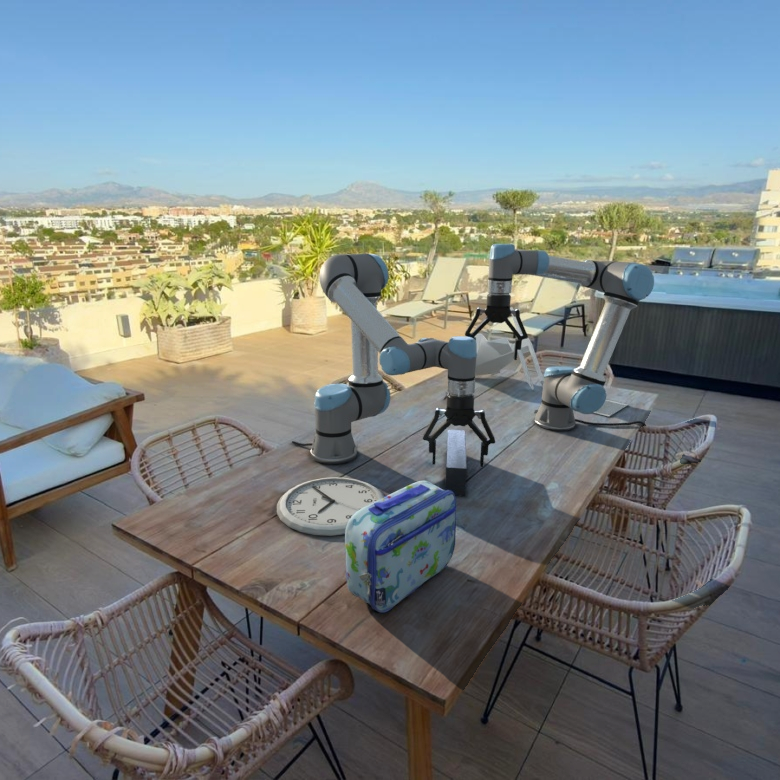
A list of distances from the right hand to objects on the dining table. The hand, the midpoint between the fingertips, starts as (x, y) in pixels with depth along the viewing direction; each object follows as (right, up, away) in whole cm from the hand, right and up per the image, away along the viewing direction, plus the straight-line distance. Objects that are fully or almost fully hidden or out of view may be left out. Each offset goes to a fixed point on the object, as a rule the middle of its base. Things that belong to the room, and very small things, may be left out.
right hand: (494, 358), depth 174 cm
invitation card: (+57, -18, +52) cm, 79 cm away
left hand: (-15, -32, -24) cm, 43 cm away
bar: (-14, -36, -11) cm, 41 cm away
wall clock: (-50, -42, -31) cm, 73 cm away
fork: (-8, -13, +63) cm, 65 cm away
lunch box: (-32, -52, -62) cm, 87 cm away
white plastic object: (+18, -7, +84) cm, 86 cm away
